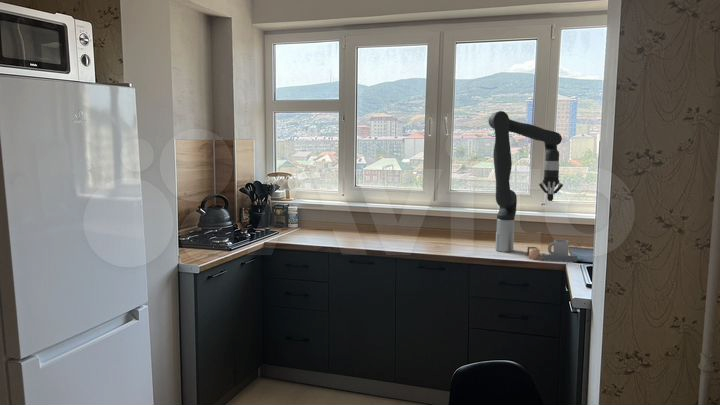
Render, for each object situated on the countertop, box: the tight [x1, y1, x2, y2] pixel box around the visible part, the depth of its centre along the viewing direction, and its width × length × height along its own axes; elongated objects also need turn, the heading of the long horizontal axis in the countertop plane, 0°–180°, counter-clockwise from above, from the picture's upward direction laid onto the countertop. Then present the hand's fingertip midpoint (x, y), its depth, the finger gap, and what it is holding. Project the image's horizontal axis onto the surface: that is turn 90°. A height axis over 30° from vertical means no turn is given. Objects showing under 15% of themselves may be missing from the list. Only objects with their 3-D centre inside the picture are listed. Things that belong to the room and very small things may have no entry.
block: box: [527, 246, 539, 256], centre depth 277 cm, size 4×4×4 cm
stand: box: [541, 252, 578, 263], centre depth 265 cm, size 16×4×3 cm, turn 80°
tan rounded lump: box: [528, 247, 541, 261], centre depth 269 cm, size 5×5×5 cm
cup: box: [547, 238, 570, 255], centre depth 271 cm, size 7×10×9 cm
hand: (550, 200), depth 289 cm, fingers closed
